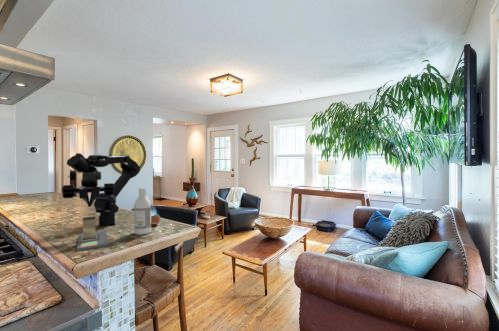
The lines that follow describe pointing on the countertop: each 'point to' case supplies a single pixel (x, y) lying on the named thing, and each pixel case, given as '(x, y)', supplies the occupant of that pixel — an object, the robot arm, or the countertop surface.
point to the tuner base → (93, 241)
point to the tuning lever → (88, 228)
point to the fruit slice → (155, 220)
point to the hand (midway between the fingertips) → (89, 206)
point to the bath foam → (142, 214)
